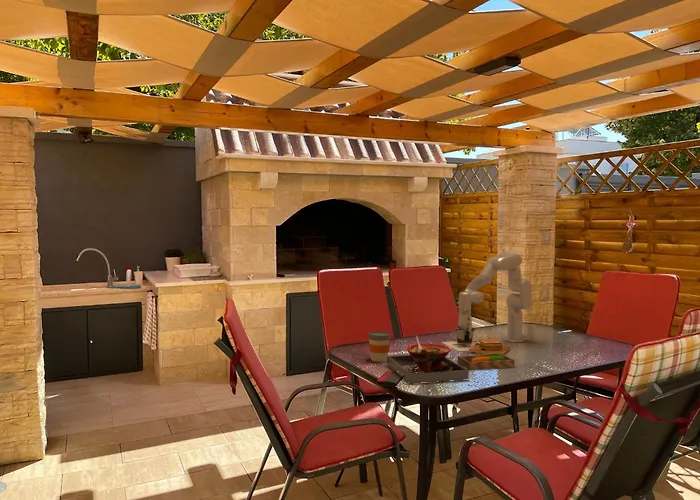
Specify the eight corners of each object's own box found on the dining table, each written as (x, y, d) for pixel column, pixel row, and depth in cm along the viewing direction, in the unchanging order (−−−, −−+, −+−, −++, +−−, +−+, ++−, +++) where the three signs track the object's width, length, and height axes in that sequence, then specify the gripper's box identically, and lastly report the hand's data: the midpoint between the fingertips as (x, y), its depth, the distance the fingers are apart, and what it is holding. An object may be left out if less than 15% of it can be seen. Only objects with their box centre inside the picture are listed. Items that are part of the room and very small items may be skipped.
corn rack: (500, 360, 306) (501, 353, 306) (514, 367, 293) (514, 360, 293) (457, 363, 299) (457, 356, 299) (469, 370, 286) (469, 362, 286)
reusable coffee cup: (375, 363, 297) (375, 336, 296) (364, 358, 308) (364, 332, 307) (394, 361, 303) (394, 334, 302) (382, 355, 314) (383, 330, 313)
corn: (507, 353, 293) (475, 355, 287) (508, 367, 293) (475, 369, 287) (500, 350, 300) (468, 352, 294) (500, 364, 300) (468, 366, 294)
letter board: (469, 341, 355) (469, 340, 355) (487, 349, 332) (487, 348, 332) (441, 342, 350) (441, 341, 350) (458, 351, 327) (458, 350, 327)
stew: (400, 363, 298) (400, 335, 297) (442, 362, 301) (442, 334, 300) (413, 378, 270) (413, 346, 269) (459, 377, 273) (459, 345, 272)
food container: (472, 341, 344) (473, 326, 344) (474, 343, 338) (474, 328, 338) (453, 341, 345) (453, 325, 344) (454, 343, 339) (455, 327, 338)
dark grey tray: (439, 362, 301) (439, 353, 301) (468, 380, 268) (468, 370, 267) (386, 365, 294) (387, 356, 293) (410, 384, 260) (410, 374, 260)
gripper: (476, 313, 332) (476, 342, 333) (464, 309, 349) (463, 336, 350) (465, 314, 330) (465, 343, 331) (453, 309, 347) (453, 337, 348)
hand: (464, 339), depth 341 cm, fingers closed on food container, 5 cm apart
